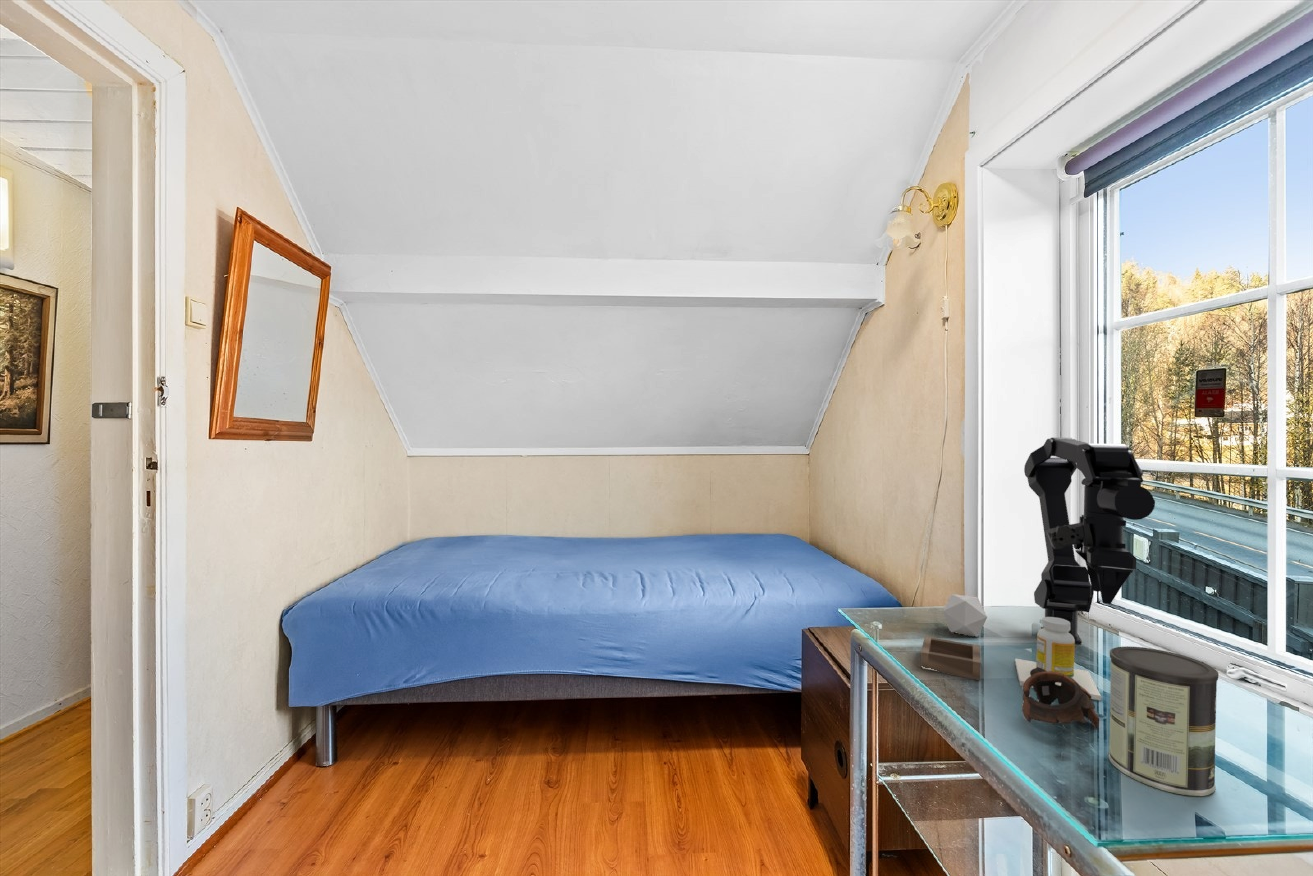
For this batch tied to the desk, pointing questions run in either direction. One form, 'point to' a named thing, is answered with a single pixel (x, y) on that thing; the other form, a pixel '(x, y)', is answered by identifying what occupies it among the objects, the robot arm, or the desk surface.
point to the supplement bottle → (1055, 646)
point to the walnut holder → (951, 657)
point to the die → (964, 615)
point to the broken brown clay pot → (1069, 696)
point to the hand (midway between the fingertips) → (1101, 597)
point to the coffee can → (1163, 719)
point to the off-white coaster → (1079, 676)
